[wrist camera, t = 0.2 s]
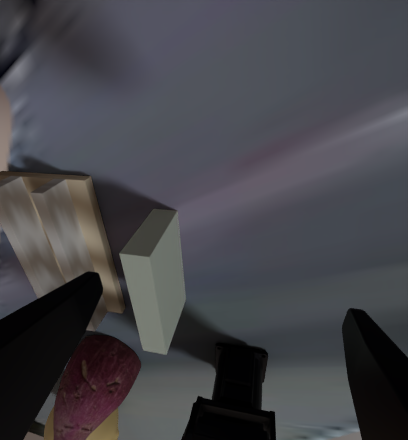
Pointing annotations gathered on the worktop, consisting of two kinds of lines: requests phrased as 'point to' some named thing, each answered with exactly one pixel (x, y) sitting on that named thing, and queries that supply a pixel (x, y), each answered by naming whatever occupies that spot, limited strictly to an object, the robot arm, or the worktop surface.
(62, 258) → the track
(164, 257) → the rectangular block
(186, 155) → the worktop surface
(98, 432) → the yellow rounded lump
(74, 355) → the vegetable
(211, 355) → the worktop surface
